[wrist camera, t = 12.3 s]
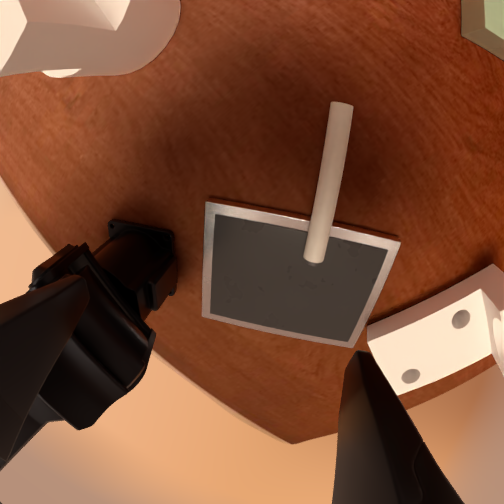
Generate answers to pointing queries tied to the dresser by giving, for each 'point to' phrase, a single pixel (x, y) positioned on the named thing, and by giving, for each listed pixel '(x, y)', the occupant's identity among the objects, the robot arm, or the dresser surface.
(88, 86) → the dresser surface
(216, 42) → the dresser surface
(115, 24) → the cylinder with rectangular tab
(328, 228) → the stylus
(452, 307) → the bracket
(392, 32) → the dresser surface
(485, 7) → the pen stand
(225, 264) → the tablet
